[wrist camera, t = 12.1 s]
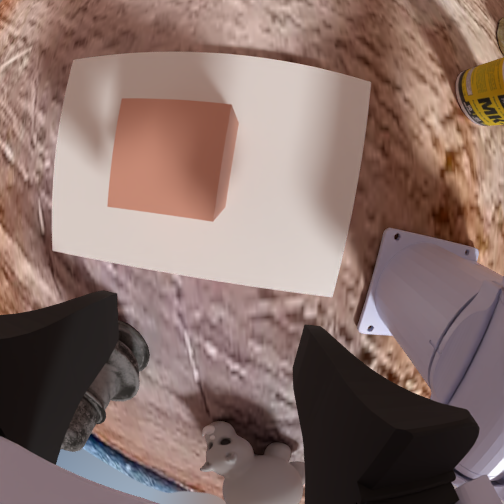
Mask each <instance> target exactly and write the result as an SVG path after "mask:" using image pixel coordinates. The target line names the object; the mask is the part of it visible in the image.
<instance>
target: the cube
mask: <svg viewBox="0 0 504 504" xmlns="http://www.w3.org/2000/svg"><path fill="white" fill-rule="evenodd" d="M238 125H239V122H238V120H237V117H236V114H235V112H234V109H233V107H232V104H223V103H214V102H203V101H191V100H174V99H146V98H122V100H121V105H120V110H119V116H118V121H117V127H116V134H115V140H114V147H113V154H112V162H111V171H110V181H109V192H108V205H107V207H113V208H121V209H128V210H135V211H143V212H150V213H157V214H164V215H171V216H178V217H185V218H192V219H198V220H205V221H212V222H213V221H214V220H215V219H216V218H217V216H218V215H219V214H220V213H221V212H222V211H223V209H224V208H225V206H226V200H227V193H228V187H229V180H230V174H231V167H232V161H233V155H234V149H235V143H236V137H237V131H238Z"/></svg>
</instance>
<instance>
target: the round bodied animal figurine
mask: <svg viewBox="0 0 504 504" xmlns="http://www.w3.org/2000/svg"><path fill="white" fill-rule="evenodd" d="M204 435H205V438H206V442H207V451H206V463H205V464H204V466H202V468H200V470H201V471H204V472H208V471H214V472H215V473H217V474H219V475H222V476H224V478H225V480H224V483H223V497H224V500H225V502H226V504H299V502H300V500H301V498H302V494H303V485H304V483H305V463H303V462H297V461H296V462H290V463H288V462H289V460H290V457H291V450H290V448H289V446H287V445H286V444H284V443H279V442H275V443H271V444H270V445H269V446H268V447H267V448H266V450H265V453H264V455H256V454H254V452H253V449H252V447H251V445H250V443H249V442H248V441H247V440H245V439H244V438H242V437H240V436H238V435H237V434H236V432H235V430H234V428H233V427H232V425H230V424H229V423H227V422H224V421H216V422H213V423H211V424H210V425H208V426H205V427H204V428H203V431H202V436H204Z"/></svg>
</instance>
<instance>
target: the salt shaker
mask: <svg viewBox="0 0 504 504" xmlns="http://www.w3.org/2000/svg"><path fill="white" fill-rule="evenodd" d="M118 327H119V340H118V342H117V344H116V346H115V348H114V350H113V352H112V354H111V356H110V358H109V359H108V361H107V362H106V364H105V365H104V367H103V368H102V370H101V371H100V372H99V374H98V375H97V377H96V378H95V380H94V381H93V383H92V384H91V385H90V387H89V388H88V390H87V391H86V393H85V394H84V396H83V398H82V400H81V401H80V403H79V405H78V407H77V409H76V411H75V414H74V416H73V418H72V420H71V422H70V425H69V427H68V430H67V432H66V435H65V437H64V440H63V443H62V446H61V449H64V450H67V451H72V452H74V451H78V450H81V449H82V448H83V447H84V445H85V443H86V441H87V439H88V438H89V436H90V434H91V432H92V430H93V428H94V427H95V425H96V424H101V423H103V422H104V421H105V418H106V412H105V409H106V407H107V406H108V404H109V402H110V400H112V401H126V400H129V399H132V398H133V397H134V396H135V395H136V394H137V392H138V390H139V371H142V370H143V369H144V368H145V367H146V366H147V363H148V361H149V355H150V354H149V349H148V346H147V344H146V342H145V340H144V339H143V337H142V336H141V335H140V333H138V332H137V331H136V330H135V329H134V328H133V327H131V326H129V325H128V324H126V323H124V322H121V321H118Z"/></svg>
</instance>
